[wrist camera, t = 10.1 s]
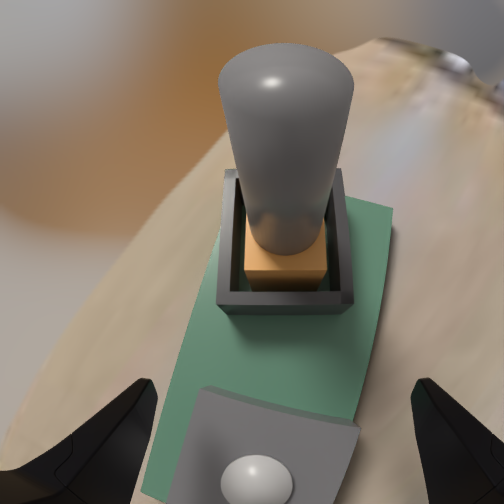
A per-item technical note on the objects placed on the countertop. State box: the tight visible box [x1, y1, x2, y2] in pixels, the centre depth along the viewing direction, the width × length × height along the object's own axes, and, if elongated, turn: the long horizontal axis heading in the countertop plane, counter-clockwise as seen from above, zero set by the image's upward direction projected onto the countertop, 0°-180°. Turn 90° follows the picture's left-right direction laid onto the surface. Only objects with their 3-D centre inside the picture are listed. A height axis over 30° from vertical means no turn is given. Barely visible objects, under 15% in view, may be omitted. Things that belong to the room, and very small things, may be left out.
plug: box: [218, 43, 354, 292], centre depth 12 cm, size 4×4×12 cm
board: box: [141, 196, 393, 503], centre depth 16 cm, size 21×10×2 cm, turn 164°
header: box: [216, 168, 354, 315], centre depth 16 cm, size 7×6×3 cm
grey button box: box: [166, 385, 361, 504], centre depth 12 cm, size 8×8×3 cm
